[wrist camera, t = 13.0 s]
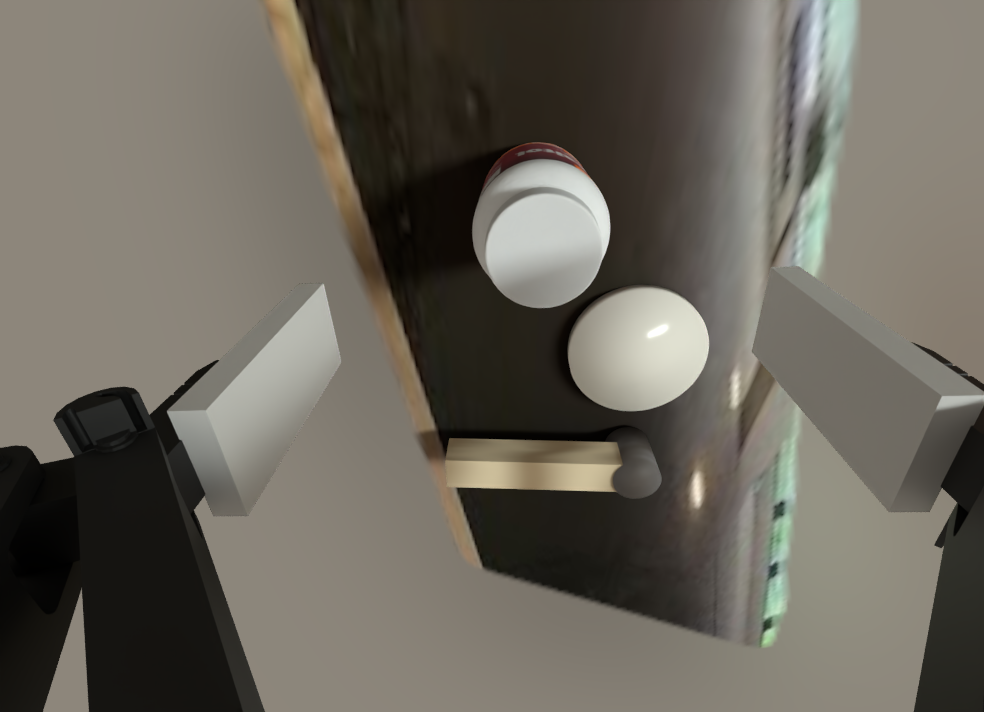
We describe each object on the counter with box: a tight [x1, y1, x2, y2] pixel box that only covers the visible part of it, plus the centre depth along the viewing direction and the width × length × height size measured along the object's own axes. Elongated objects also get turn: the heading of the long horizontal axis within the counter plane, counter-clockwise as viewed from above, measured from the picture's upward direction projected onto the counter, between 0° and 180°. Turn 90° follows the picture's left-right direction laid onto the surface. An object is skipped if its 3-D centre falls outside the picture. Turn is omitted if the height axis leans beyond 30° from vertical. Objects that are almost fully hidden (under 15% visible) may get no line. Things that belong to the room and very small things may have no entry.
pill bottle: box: [472, 142, 610, 308], centre depth 25 cm, size 6×6×11 cm
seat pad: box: [567, 284, 709, 411], centre depth 33 cm, size 9×9×1 cm
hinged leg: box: [445, 427, 661, 499], centre depth 36 cm, size 15×3×4 cm, turn 90°
